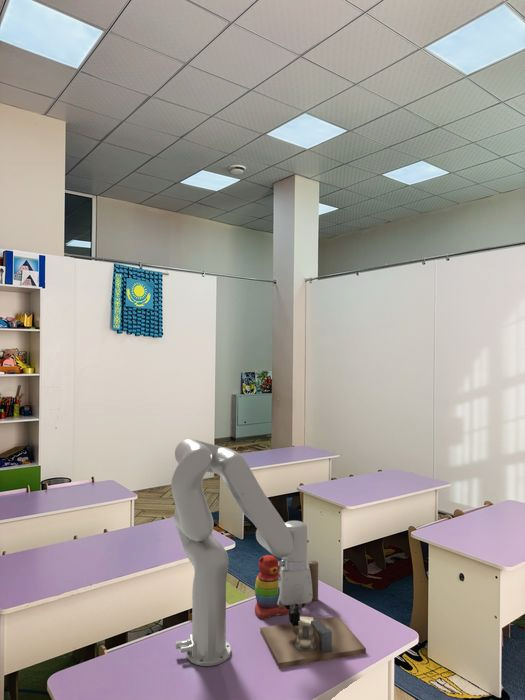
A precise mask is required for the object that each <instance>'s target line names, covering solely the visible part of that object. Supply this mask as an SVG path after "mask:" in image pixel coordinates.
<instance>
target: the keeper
mask: <svg viewBox="0 0 525 700" xmlns="http://www.w3.org/2000/svg"><path fill="white" fill-rule="evenodd" d="M314 620H315V619H314ZM311 626H312V627H313V629H314V630H315V632H316V633H317V634H318V636H319V650H320V651H321V653H328V652H332V631H331V630H330V629H329V628H328V629H327V628H326V626H325V625H324V624H323V622H322V621H321V620H315V621H311Z"/></svg>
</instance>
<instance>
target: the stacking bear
mask: <svg viewBox="0 0 525 700" xmlns="http://www.w3.org/2000/svg"><path fill="white" fill-rule="evenodd" d="M258 560H259V561H258V569H259V571H260V572H259V573H258V574H257V576H256V579H255V584H254V595H255V598H256V603H255V605H254V613H255V615H256V616H257V618H259V619H262V620H265V619H269V618H270V617H272V616H276V615H278V616H279V615H280V616H284V615H287V614H289V610H288V609H287V608H286V607H279V606H278V604H277V602H278V594H277V591H278V579H279V573H278V570H279V565H278V561H279V560H278V557H275V556H274V555H272V554H270V555H269V554H265V555H263V556H262V557H261V556H260V557H259V559H258Z"/></svg>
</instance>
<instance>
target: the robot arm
mask: <svg viewBox="0 0 525 700" xmlns="http://www.w3.org/2000/svg"><path fill="white" fill-rule="evenodd" d="M174 458H175V461H176V462H177V463H178V464H177V466H176V468H175V470H174V472H173V475H172V479H171V483H170V484H171V486H170V487H171V494H172V498H173V501H174V504H175V509H174V514H173V519H174V520H173V521H174V524H175V527H176V531H177V534H178V536H179V540H180V543H181V546H182V548H183V551H184V553H185V555H186V557H187V559H188V561H189V562H190V563H191V565H192V566H193V570H194V575H193V581H192V589H191V590H192V593H191V596H192V597H191V598H192V604H191V609H192V612H191V613H192V615H191V616H192V617H191V619H192V620H191V621H192V622H191V631H192V632H191V634H189V638H186V639H185V640H178V641H175V642H174V643H175V644H174V647H175V650H180V653H186V658H187V660H188V661H189V662H191V664H194V665H196V666H201V667H213V666H216V665H221V664H222V663H224V662H226V661H227V660H228V659H229V658H230V657H231V654H232V647H231V645H230V643H229V642H228V641H227V640H226V639H227V636H226V635H227V634H226V633H227V631H226V630H227V629H226V628H227V626H226V625H227V623H226V622H227V614H226V613H227V596H226V595H227V579H228V570H229V555H228V552H227V550H226V548H225V547H224V546H223V545H222V543H221V542H219V540H218V539H217V538H216V537H215V536H214V534H213V531H214V527H215V526H214V525H215V524H214V522H215V521H214V517H213V515H212V512H211V508H210V507H209V504H208V500H207V498H206V495H205V491H204V487H203V482H204V481H203V480H204V477H205V475H206V474H207V473H212V474H216V475H217V476H219V477H220V478H221V479H222V480H223V482H224V484H225V486H226V488H227V489H228V490H229V492H230V494H231V496H232V498H233V500H234V502H235V503H236V505H237V507H238V508H239V509H240V511H241V513H243V515H244V516H246V517H247V518H248V520H250V522H251V523H252V524H253V525H254V526H255V528H256V531H255V538H256V540H257V541H256V542H258V543H259V545H261V546H262V547H263V548H264V549H265V550H267V552H269V553H270V555H271V556H272V555H274V556H275V557H277V559H278V558H279V559H281V560H278V565H279V566H282V567H281V568H280V573H279V579H278V591H277V594H278V602H277V604H278V606H279V607H286V608H287V609H288V621H289V622H288V623H291V624H292V625H293V626H298V622H300V616H301V615H300V614H301V612H302V610H303V608H304V607H305V606H306V605H308V604H311V603H312V601H311V600H312V580H311V573H310V568H309V565H308V542H307V540H308V526H307V524H306V523H305V522H303V521H300V520H288V521H286V522H285V521H284V520H283V517H281V515H280V513H279V512H278V510H277V509H276V508H275V506H274V505H273V503H272V502H271V500H270V499H269V498H268V497H267V496H268V495H266V493H265V492H264V489H262V487H261V485H260V484H259V482H258V480H257V478H256V476H255V475H254V472H253V471H252V469H251V468H250V466H249V463H248V462H247V460H246V458H245V457H244V456H243V455H242V454H241V453H240V452H237V451H235V450H233V449H231V448H229V447H224V446H220V445H218V444H217V445H216V444H212V443H209V442H204V441H200V440H198V439H193V438H187V439H183V440H181V441H180V442H179V443H178V444H177V446H176V448H175V450H174Z"/></svg>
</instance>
